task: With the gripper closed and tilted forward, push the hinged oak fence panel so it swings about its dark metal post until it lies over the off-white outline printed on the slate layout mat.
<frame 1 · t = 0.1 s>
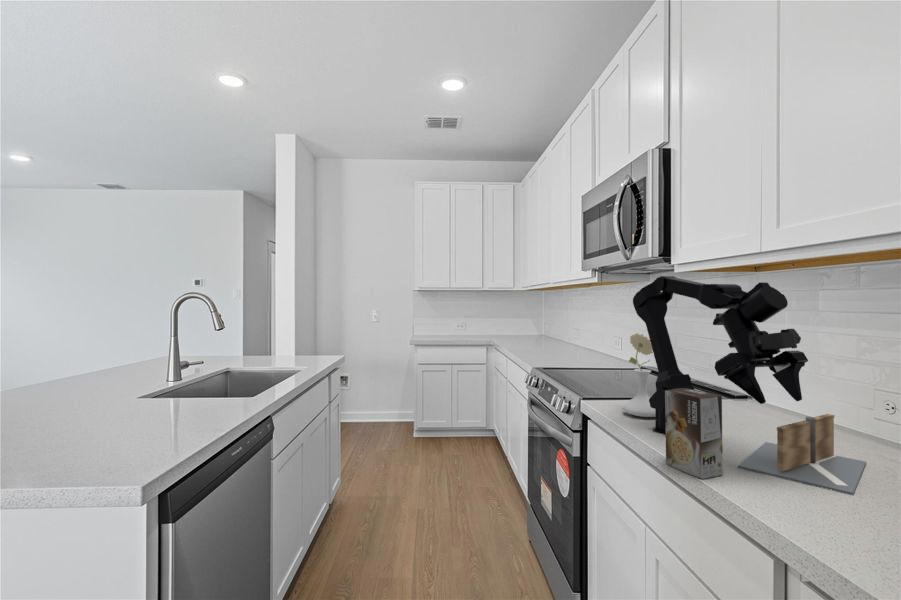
hand: (781, 401, 88), 15 cm above the worktop, tool tilted 35°, fingers open, 9 cm apart
fence fixed: (810, 464, 95), resting on layout mat
coffee box: (693, 470, 92), on the worktop
flower in vase: (641, 415, 136), on the worktop
layout mat: (802, 465, 94), on the worktop
fence panel: (794, 445, 92), point 5 cm above the worktop, hinge at 0.0°
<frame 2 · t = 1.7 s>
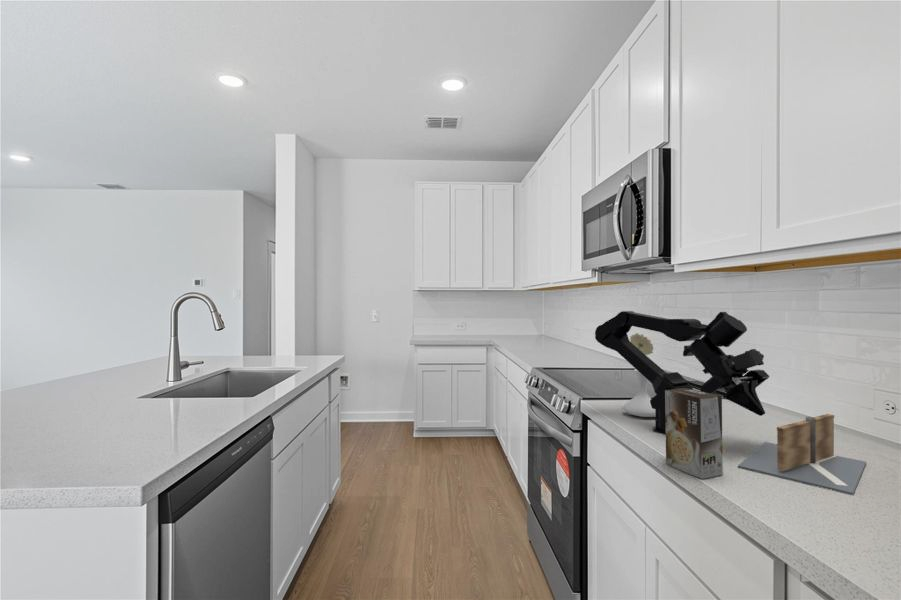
hand: (762, 414, 98), 10 cm above the worktop, tool tilted 45°, fingers closed
nothing on the worktop moved.
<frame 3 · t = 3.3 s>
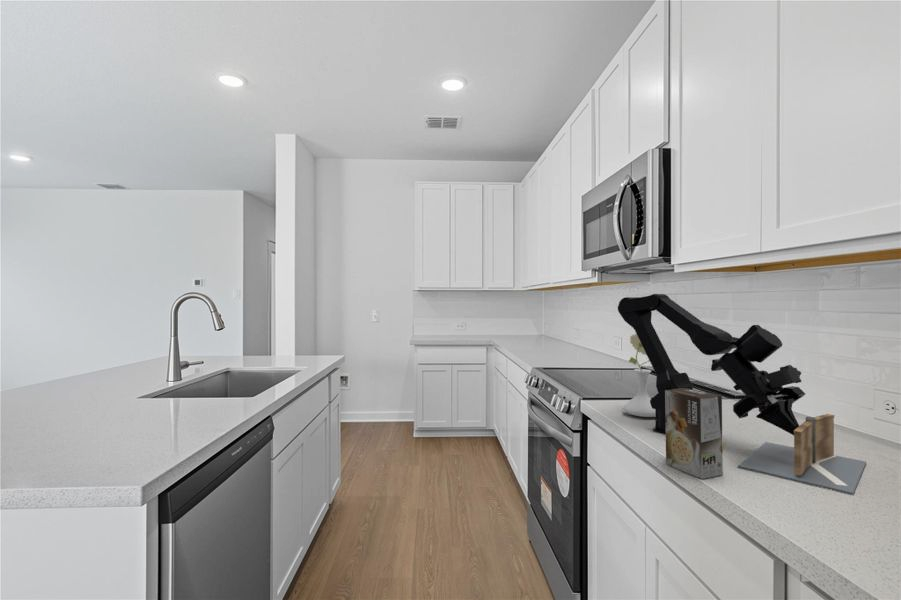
hand: (800, 436, 92), 7 cm above the worktop, tool tilted 45°, fingers closed, pressing on fence panel
fence panel: (803, 447, 90), point 5 cm above the worktop, hinge at 13.8°, touching gripper
everything else where it was.
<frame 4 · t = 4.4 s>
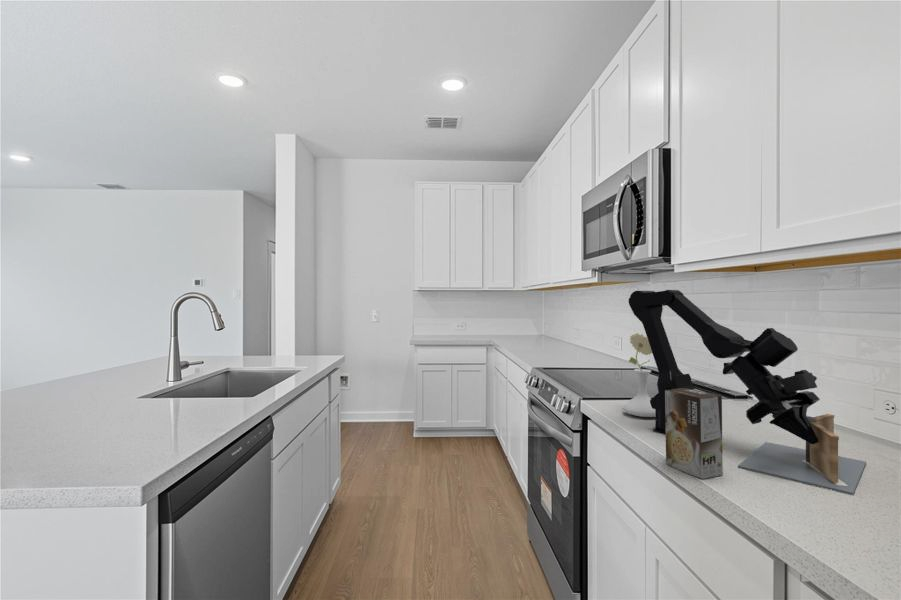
hand: (815, 443, 90), 6 cm above the worktop, tool tilted 45°, fingers closed
fence panel: (823, 450, 89), point 5 cm above the worktop, hinge at 40.6°, touching gripper
everything else where it was.
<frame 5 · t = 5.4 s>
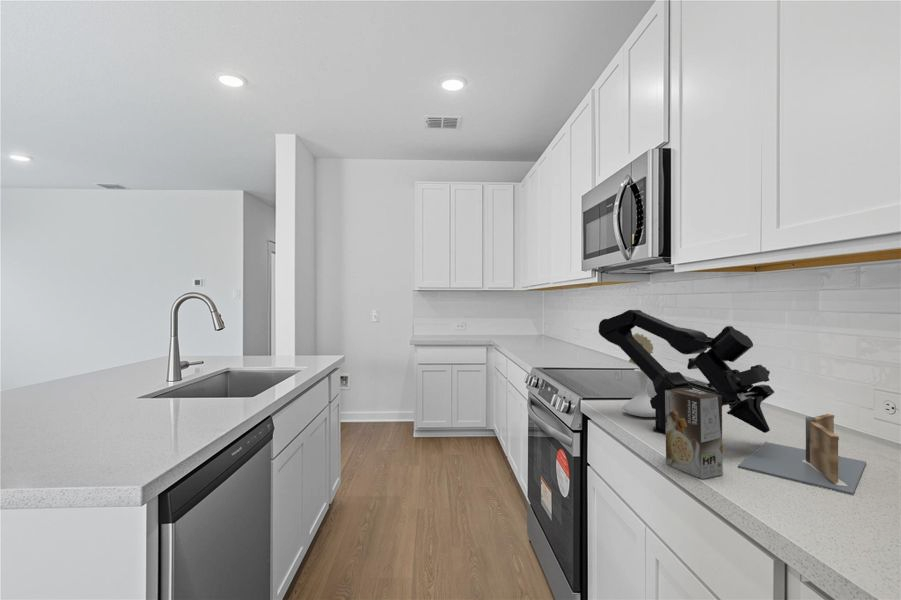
hand: (767, 431, 98), 6 cm above the worktop, tool tilted 45°, fingers closed
fence panel: (823, 450, 89), point 5 cm above the worktop, hinge at 40.6°
everything else where it was.
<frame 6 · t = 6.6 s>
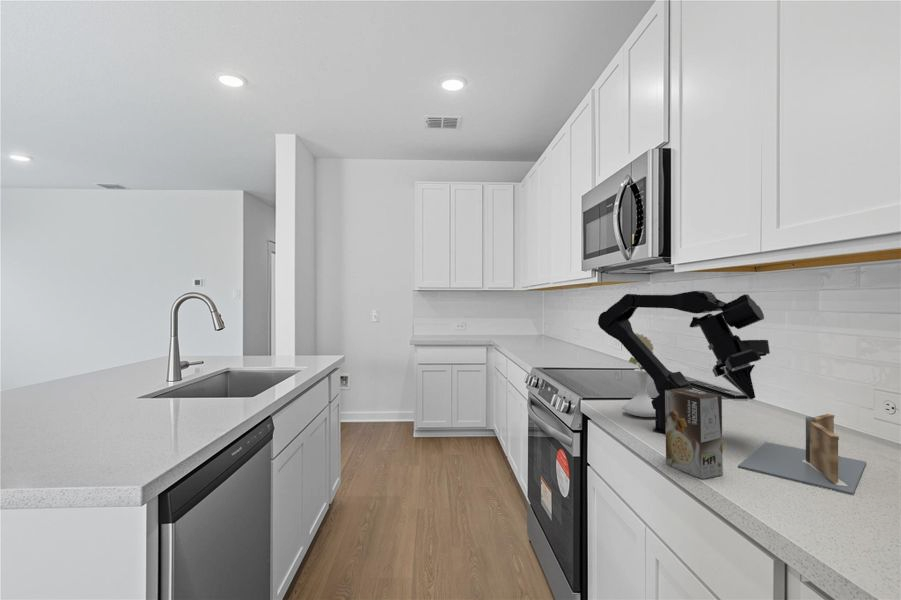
hand: (752, 398, 103), 12 cm above the worktop, tool tilted 25°, fingers closed
nothing on the worktop moved.
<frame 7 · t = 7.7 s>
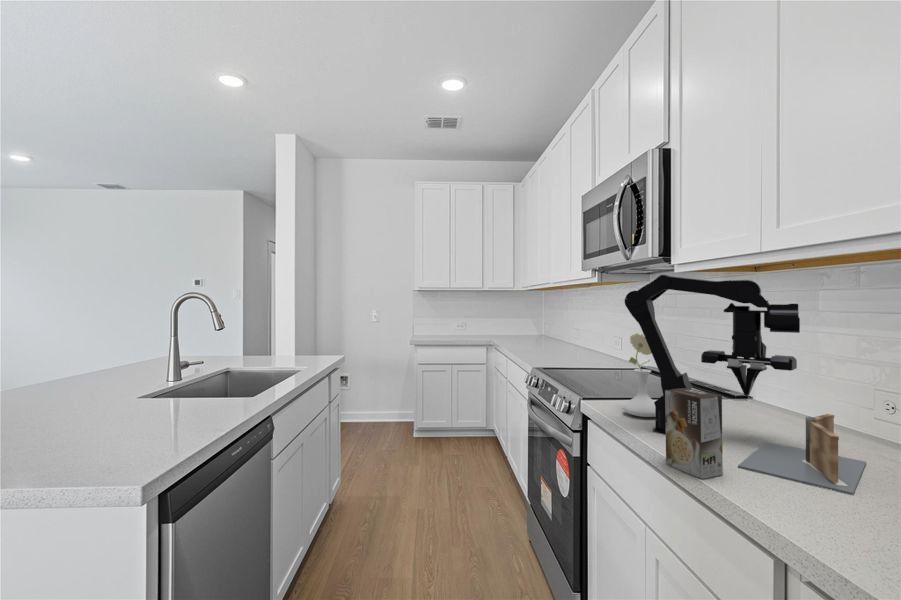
hand: (746, 395, 108), 12 cm above the worktop, tool pointing down, fingers closed
nothing on the worktop moved.
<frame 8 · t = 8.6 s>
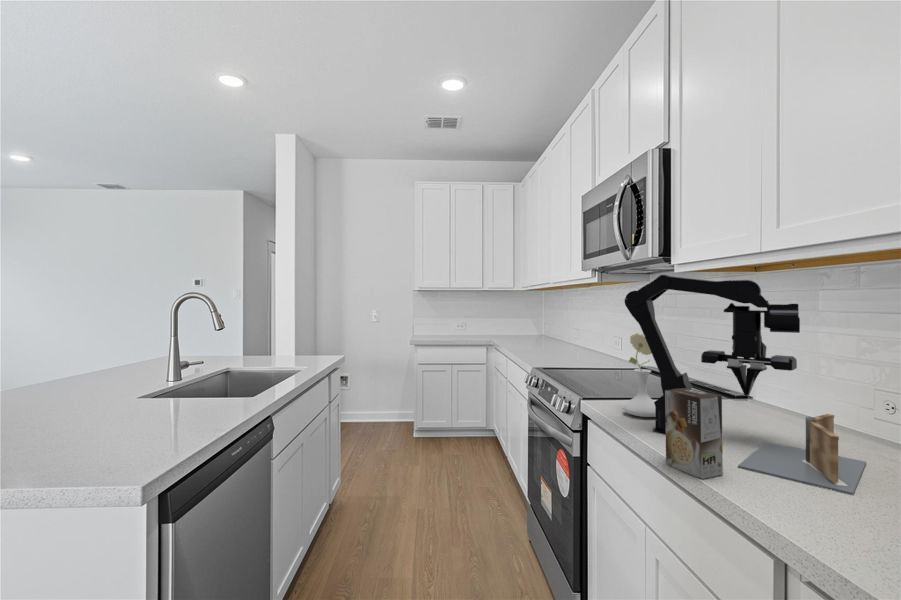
hand: (746, 395, 108), 12 cm above the worktop, tool pointing down, fingers closed
nothing on the worktop moved.
at the end: fence panel at +41° (first picture: +0°) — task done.
